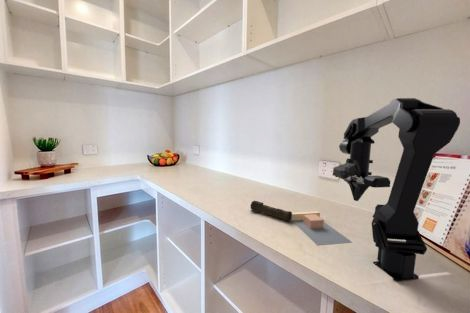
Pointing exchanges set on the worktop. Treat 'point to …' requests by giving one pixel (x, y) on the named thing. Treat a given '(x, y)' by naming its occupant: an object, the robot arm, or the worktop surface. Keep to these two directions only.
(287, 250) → the worktop surface
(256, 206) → the hand tool
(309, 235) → the slate mat
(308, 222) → the salmon brown block
